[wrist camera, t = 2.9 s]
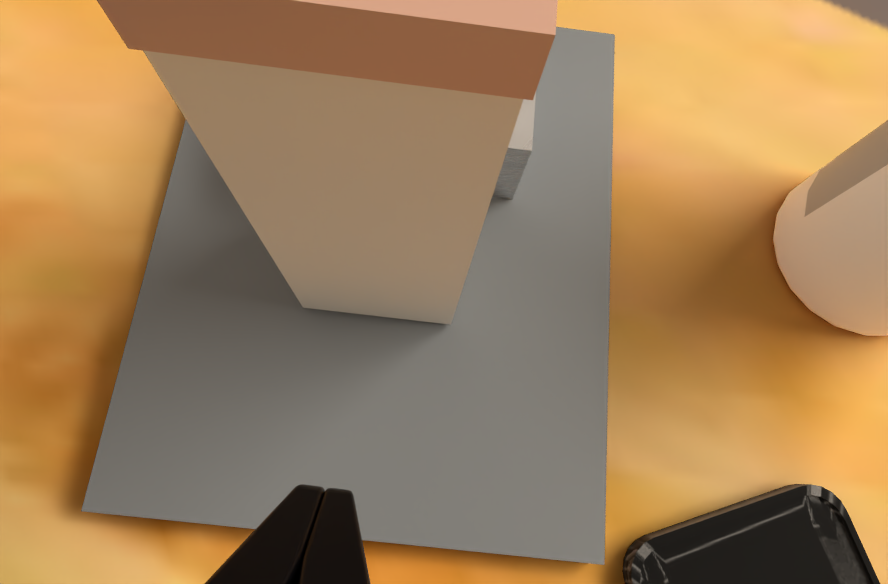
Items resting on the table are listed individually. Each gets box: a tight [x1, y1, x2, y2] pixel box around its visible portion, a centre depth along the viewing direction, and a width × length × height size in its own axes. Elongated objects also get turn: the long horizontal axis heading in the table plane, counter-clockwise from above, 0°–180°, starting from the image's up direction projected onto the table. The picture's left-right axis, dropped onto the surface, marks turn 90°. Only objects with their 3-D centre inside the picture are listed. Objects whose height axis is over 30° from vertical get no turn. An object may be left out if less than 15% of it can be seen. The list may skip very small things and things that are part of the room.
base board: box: [81, 27, 615, 565], centre depth 21 cm, size 20×16×1 cm
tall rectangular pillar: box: [97, 0, 557, 325], centre depth 14 cm, size 5×5×14 cm
